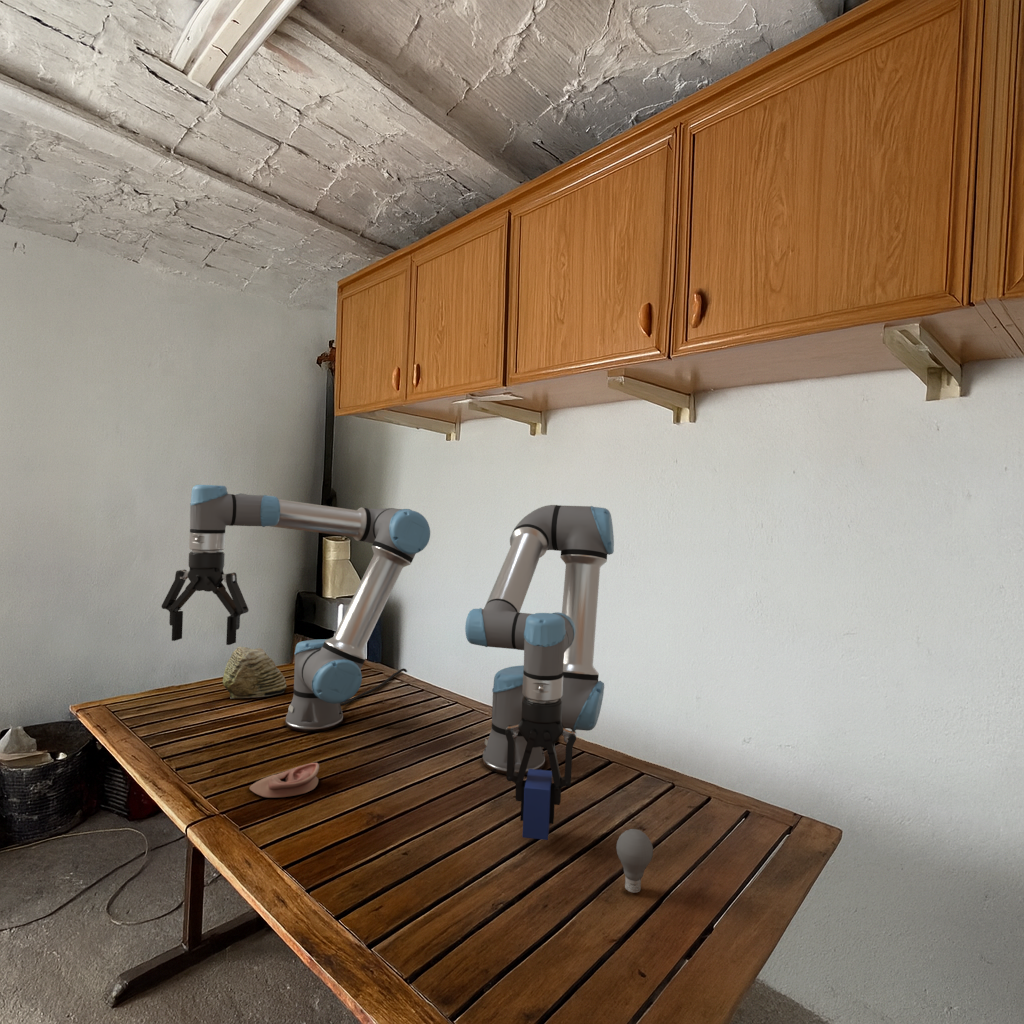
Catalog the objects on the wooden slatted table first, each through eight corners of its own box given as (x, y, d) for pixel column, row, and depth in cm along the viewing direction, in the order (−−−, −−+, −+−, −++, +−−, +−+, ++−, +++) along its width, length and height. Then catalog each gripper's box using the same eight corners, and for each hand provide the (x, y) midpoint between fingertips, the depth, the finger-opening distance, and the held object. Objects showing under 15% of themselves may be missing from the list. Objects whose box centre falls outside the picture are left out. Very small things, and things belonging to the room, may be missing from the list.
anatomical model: (241, 775, 133) (272, 754, 144) (240, 794, 133) (272, 771, 144) (299, 783, 130) (326, 761, 142) (298, 802, 130) (325, 779, 142)
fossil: (218, 695, 195) (220, 647, 195) (278, 685, 208) (279, 640, 207) (228, 703, 189) (230, 653, 188) (289, 692, 201) (290, 645, 201)
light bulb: (610, 879, 108) (613, 822, 108) (644, 879, 109) (647, 822, 109) (619, 902, 102) (622, 840, 102) (655, 901, 103) (658, 840, 103)
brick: (522, 837, 116) (524, 787, 116) (526, 815, 124) (528, 768, 124) (547, 840, 116) (549, 790, 115) (550, 817, 124) (552, 770, 123)
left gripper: (146, 549, 145) (143, 641, 146) (248, 555, 142) (245, 649, 143) (168, 547, 153) (165, 634, 153) (265, 552, 150) (262, 641, 150)
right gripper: (492, 700, 116) (487, 824, 117) (589, 707, 114) (584, 834, 115) (498, 687, 124) (494, 804, 125) (589, 694, 121) (584, 813, 122)
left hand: (203, 641), depth 148 cm, fingers open, 13 cm apart
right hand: (537, 818), depth 120 cm, fingers closed on brick, 5 cm apart
